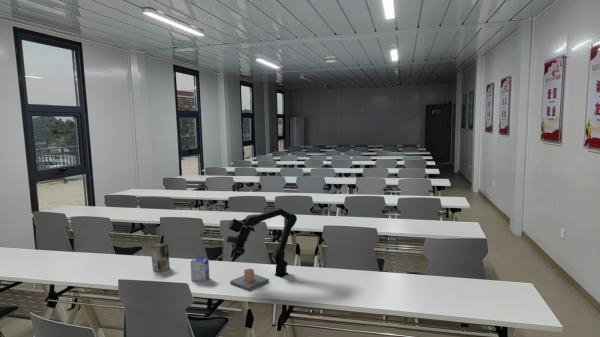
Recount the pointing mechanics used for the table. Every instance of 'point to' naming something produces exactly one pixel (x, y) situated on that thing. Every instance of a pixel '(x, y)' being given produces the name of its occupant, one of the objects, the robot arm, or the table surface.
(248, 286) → the pocket plate
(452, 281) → the table surface
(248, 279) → the tan rectangular block
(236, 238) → the robot arm
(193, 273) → the ink cartridge box
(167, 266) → the coffee box
